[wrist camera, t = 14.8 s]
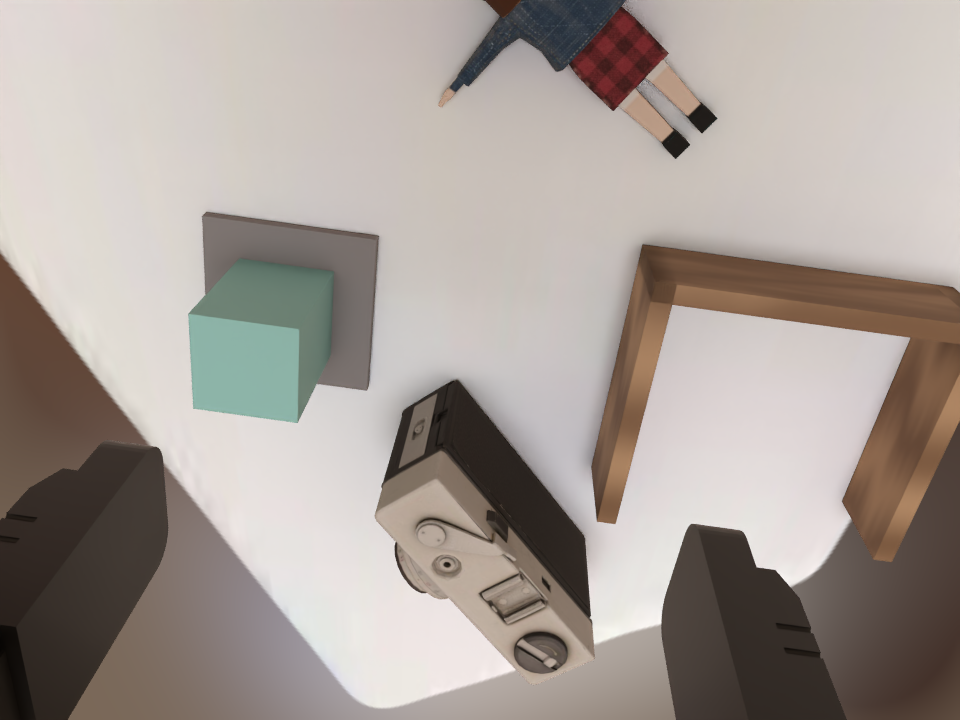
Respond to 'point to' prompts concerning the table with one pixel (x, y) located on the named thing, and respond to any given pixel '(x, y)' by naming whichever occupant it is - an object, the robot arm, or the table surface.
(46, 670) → the robot arm
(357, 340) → the mat
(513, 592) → the camera
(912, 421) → the bay
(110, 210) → the table surface
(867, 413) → the table surface
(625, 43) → the toy
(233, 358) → the block
